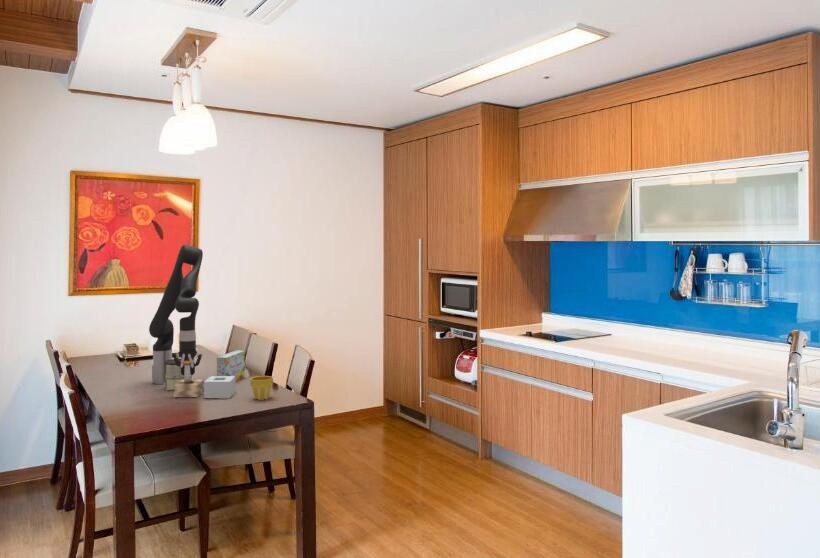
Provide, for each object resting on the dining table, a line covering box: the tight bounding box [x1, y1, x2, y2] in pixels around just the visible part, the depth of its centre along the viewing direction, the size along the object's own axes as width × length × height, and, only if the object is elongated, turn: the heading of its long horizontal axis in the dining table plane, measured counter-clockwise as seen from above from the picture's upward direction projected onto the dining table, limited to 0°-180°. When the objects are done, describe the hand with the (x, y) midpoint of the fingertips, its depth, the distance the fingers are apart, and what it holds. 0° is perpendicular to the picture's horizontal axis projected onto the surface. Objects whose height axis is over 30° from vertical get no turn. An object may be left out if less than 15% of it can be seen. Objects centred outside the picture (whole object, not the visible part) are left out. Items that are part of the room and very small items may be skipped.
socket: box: [203, 375, 237, 399], centre depth 296 cm, size 12×12×8 cm
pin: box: [183, 360, 193, 384], centre depth 297 cm, size 4×4×14 cm
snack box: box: [216, 349, 246, 382], centre depth 325 cm, size 21×6×15 cm, turn 168°
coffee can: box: [165, 358, 184, 391], centre depth 309 cm, size 10×10×14 cm
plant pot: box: [249, 375, 274, 401], centre depth 291 cm, size 10×10×10 cm
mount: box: [173, 379, 205, 398], centre depth 297 cm, size 11×11×6 cm
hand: (187, 374), depth 297 cm, fingers closed on pin, 3 cm apart
